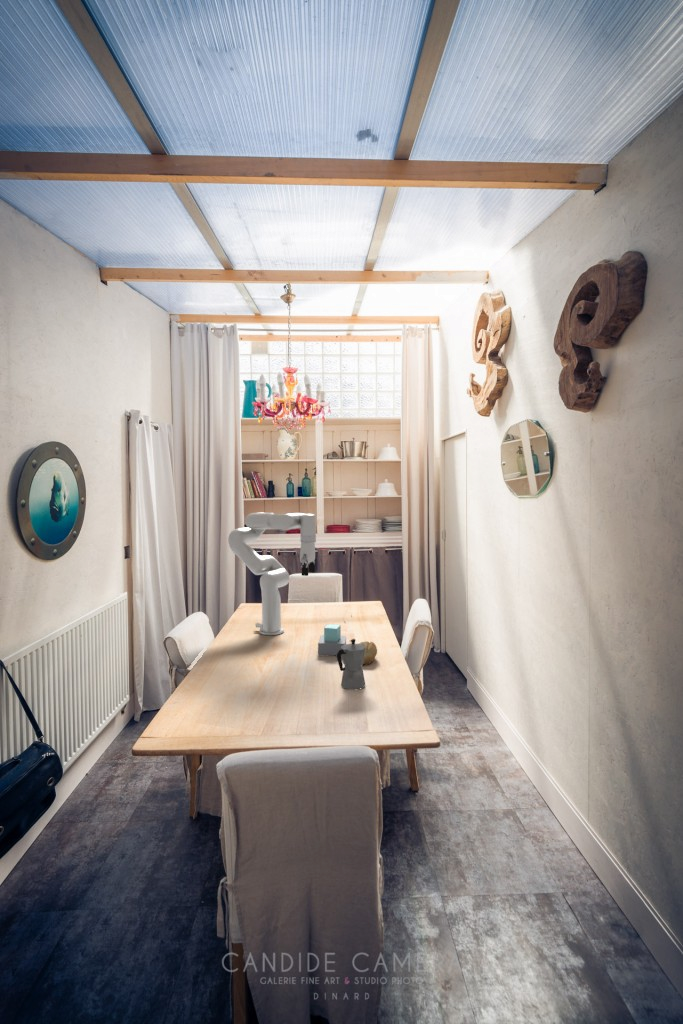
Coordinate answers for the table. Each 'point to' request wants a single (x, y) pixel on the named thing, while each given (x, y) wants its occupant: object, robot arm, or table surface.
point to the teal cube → (332, 632)
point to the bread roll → (369, 652)
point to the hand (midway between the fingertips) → (308, 573)
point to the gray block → (330, 646)
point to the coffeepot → (352, 665)
